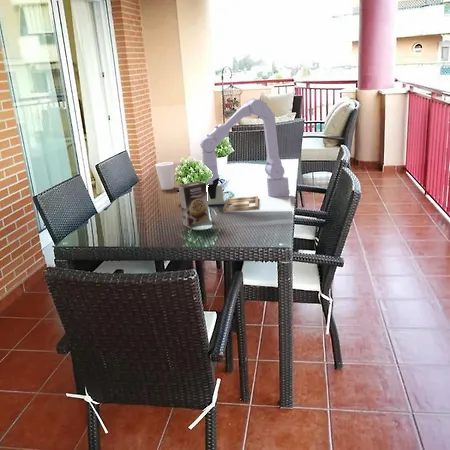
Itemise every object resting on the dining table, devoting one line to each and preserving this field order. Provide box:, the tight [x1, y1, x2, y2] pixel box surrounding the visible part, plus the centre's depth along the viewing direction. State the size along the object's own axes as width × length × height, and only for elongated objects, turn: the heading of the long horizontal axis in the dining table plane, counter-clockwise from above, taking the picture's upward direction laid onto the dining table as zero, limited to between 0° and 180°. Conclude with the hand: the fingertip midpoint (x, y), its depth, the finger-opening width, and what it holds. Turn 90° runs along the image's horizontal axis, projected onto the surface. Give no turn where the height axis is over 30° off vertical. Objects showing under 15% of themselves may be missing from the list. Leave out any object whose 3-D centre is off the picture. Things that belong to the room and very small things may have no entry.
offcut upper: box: [231, 201, 250, 207], centre depth 198 cm, size 7×4×2 cm, turn 91°
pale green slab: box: [208, 185, 225, 206], centre depth 208 cm, size 8×2×9 cm, turn 86°
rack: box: [222, 195, 259, 212], centre depth 203 cm, size 14×16×2 cm
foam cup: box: [155, 161, 175, 191], centre depth 250 cm, size 10×9×13 cm
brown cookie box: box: [178, 181, 210, 229], centre depth 186 cm, size 9×6×16 cm
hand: (213, 196), depth 208 cm, fingers open, 6 cm apart
